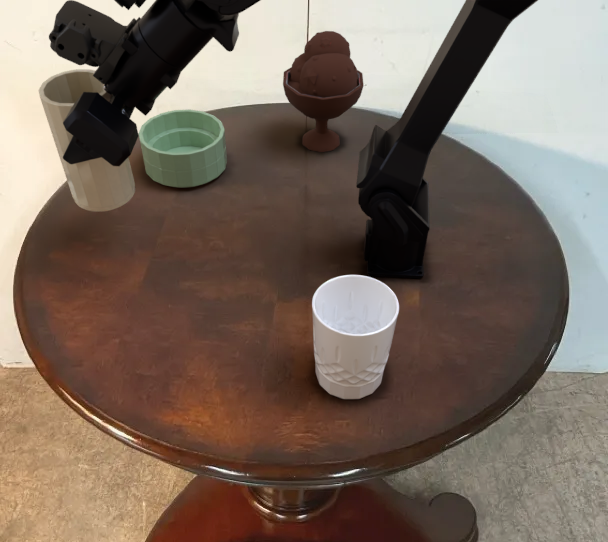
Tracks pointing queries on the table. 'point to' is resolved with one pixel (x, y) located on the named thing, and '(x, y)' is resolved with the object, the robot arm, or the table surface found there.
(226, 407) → the table surface
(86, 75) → the cream cup
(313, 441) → the table surface
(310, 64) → the ice cream bowl
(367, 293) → the white cup
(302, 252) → the table surface
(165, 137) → the sage bowl
